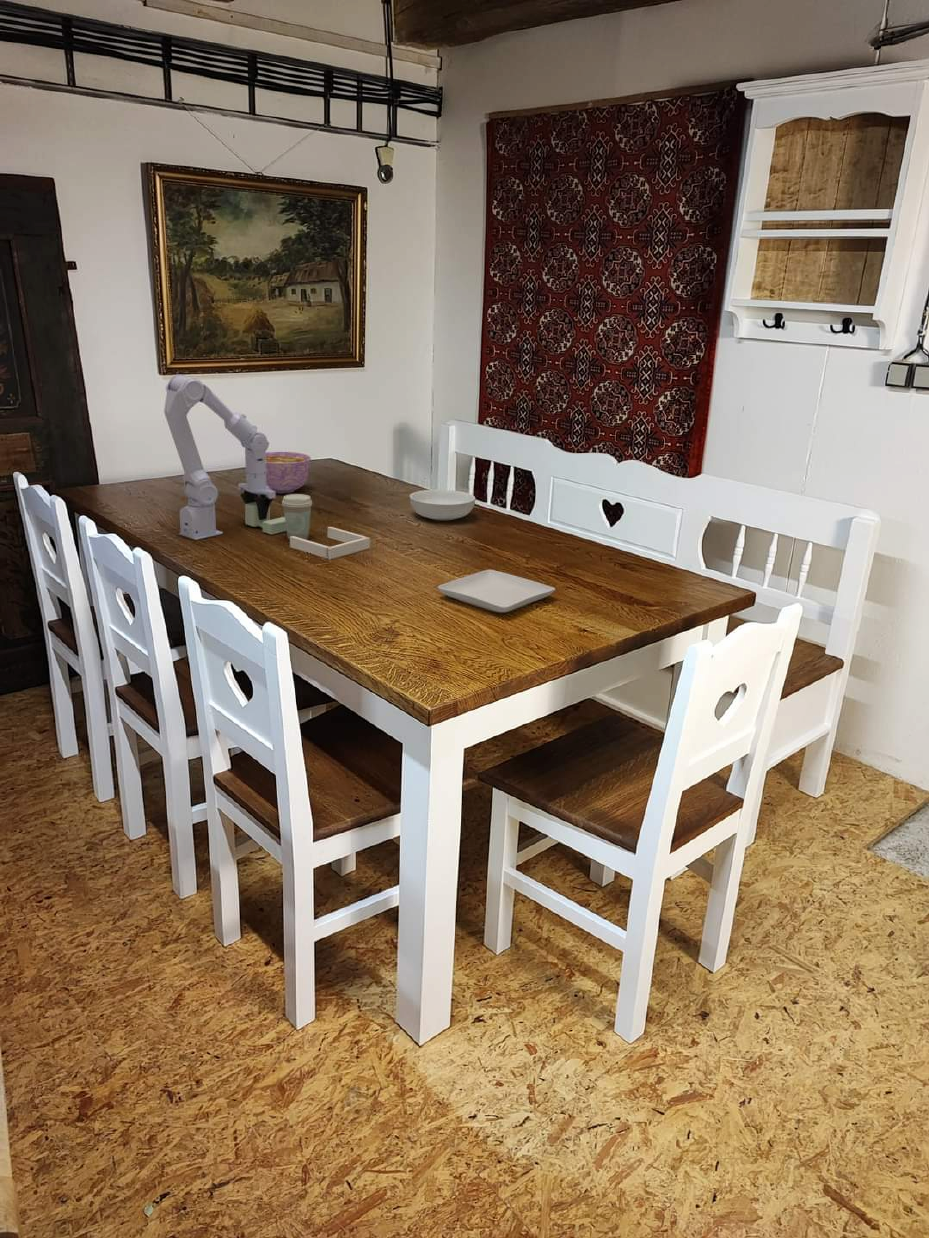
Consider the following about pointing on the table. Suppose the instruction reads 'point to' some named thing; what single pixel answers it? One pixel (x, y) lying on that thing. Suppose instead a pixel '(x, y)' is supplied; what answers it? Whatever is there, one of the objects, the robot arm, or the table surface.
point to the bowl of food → (286, 471)
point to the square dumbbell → (266, 524)
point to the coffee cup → (297, 515)
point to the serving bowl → (442, 504)
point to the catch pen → (350, 546)
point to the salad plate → (496, 590)
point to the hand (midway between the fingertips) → (257, 518)
